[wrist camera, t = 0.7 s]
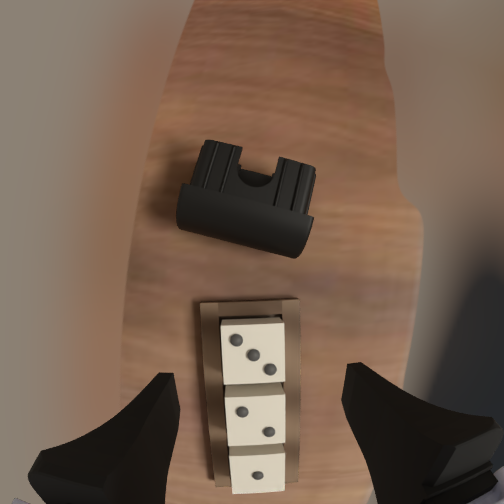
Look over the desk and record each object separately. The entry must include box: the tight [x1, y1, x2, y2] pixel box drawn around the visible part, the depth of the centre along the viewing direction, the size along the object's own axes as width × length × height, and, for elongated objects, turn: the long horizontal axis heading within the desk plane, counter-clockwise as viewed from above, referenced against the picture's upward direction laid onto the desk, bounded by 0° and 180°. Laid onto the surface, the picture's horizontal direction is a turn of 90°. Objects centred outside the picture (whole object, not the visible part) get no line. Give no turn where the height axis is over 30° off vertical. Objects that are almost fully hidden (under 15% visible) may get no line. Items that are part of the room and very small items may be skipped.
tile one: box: [229, 443, 285, 494], centre depth 25 cm, size 5×5×3 cm
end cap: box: [176, 140, 316, 259], centre depth 26 cm, size 10×7×7 cm
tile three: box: [221, 317, 285, 385], centre depth 26 cm, size 5×5×3 cm
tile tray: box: [200, 298, 301, 487], centre depth 28 cm, size 20×9×1 cm, turn 2°
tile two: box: [225, 382, 285, 446], centre depth 25 cm, size 5×5×3 cm
